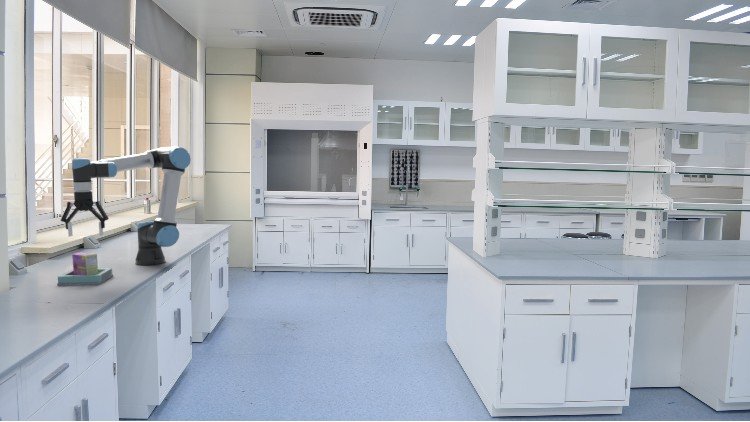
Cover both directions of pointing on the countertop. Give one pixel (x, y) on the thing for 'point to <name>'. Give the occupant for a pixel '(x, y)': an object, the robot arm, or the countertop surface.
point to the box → (85, 264)
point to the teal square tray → (84, 278)
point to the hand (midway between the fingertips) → (86, 235)
